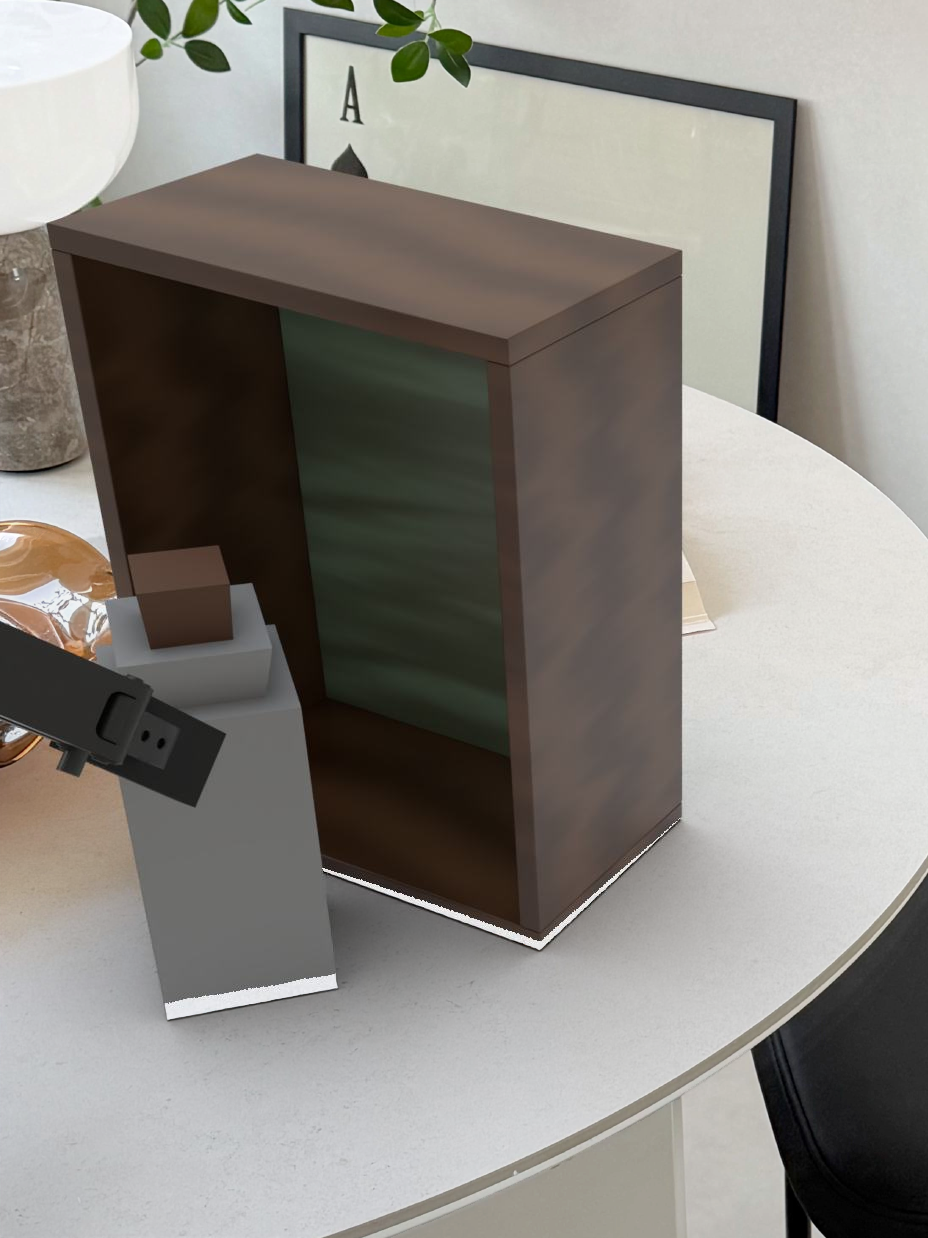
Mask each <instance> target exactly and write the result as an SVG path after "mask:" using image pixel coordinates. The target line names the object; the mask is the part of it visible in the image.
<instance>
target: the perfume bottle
mask: <svg viewBox="0 0 928 1238" xmlns="http://www.w3.org/2000/svg"><path fill="white" fill-rule="evenodd" d="M128 560H129V565H130V570H131V574H132V579H133V584H134V589H135V593H136V596H135V597H126V598H117V597H116V598H110V599H104V604H105V610H106V615H107V621H108V626H109V631H110V637H111V644H110V643H109V644H102V645H101V644H100V645H95V646H94V650H95V656H96V662H97V663H96V664H98V665H101V666H103V667H105V668H107V669H110V670H112V671H114V672H116V673H119V674H121V675H125V676H127V674H130V675H133V676H135V677H138V678H140V679H142V680H144V682H143V683H145V684H148V685H150V686H151V689H153V690H154V691H153V694H152V697H154V698H156V699H158V700H160V701H162V702H164V703H166V704H168V705H170V706H172V707H174V708H176V709H178V710H180V711H182V712H184V713H186V714H188V715H190V716H192V717H194V718H196V719H198V720H200V721H202V722H204V723H206V724H208V725H210V726H212V727H214V728H216V729H218V730H220V731H222V732H224V733H226V736H225V739H224V741H223V744H222V746H221V748H220V751H219V753H218V755H217V758H216V760H215V763H214V765H213V767H212V770H211V772H210V774H209V777H208V779H207V781H206V784H205V786H204V789H203V791H202V793H201V796H200V798H199V800H198V803H197V805H196V808H194V807H192V806H189V805H186V804H183V803H181V802H178V801H175V800H173V799H171V798H168V797H166V796H164V795H162V794H159V793H157V792H155V791H152V790H150V789H148V788H145V787H143V786H141V785H138V784H136V783H134V782H131V781H129V780H127V779H124V778H122V777H120V776H117V777H118V783H119V789H120V793H121V798H122V802H123V803H122V804H123V808H124V813H125V817H126V824H127V827H128V832H129V837H130V842H131V848H132V852H133V857H134V863H135V867H136V872H137V878H138V883H139V887H140V892H141V896H142V897H141V898H142V902H143V906H144V912H145V916H146V923H147V927H148V932H149V937H150V941H151V947H152V952H153V956H154V961H155V966H156V972H157V976H158V982H159V986H160V992H161V996H162V1001H163V1005H164V1004H165V1003H168V1004H169V1002H170V1003H172V1002H175V1001H179V1000H183V999H187V998H194V997H195V998H198V997H202V996H205V995H206V996H209V995H217V994H218V995H219V994H224V993H229V992H233V991H234V992H236V991H240V990H244V989H246V990H248V988H251V989H252V988H256V987H257V988H260V987H263V986H264V987H268V986H271V985H273V986H275V985H279V984H284V983H288V982H292V981H296V980H300V979H304V978H306V979H309V978H313V977H316V978H317V977H321V976H328V975H332V974H335V973H336V974H337V968H336V960H335V959H336V958H335V953H334V952H335V951H334V944H333V937H332V930H331V929H332V928H331V922H330V916H329V908H328V907H329V906H328V900H327V899H328V898H327V893H326V885H325V884H326V883H325V877H324V872H323V869H322V861H321V853H320V846H319V838H318V831H317V823H316V816H315V808H314V801H313V793H312V786H311V778H310V771H309V763H308V756H307V748H306V740H305V733H304V725H303V718H302V710H301V705H300V702H299V699H298V696H297V693H296V690H295V687H294V684H293V680H292V677H291V674H290V671H289V668H288V665H287V662H286V658H285V655H284V652H283V649H282V646H281V643H280V640H279V636H278V633H277V630H276V627H275V624H274V625H265V623H264V620H263V616H262V613H261V610H260V607H259V603H258V600H257V597H256V594H255V591H254V587H253V584H252V583H248V584H240V585H231V586H230V583H229V579H228V576H227V572H226V569H225V565H224V562H223V559H222V555H221V552H220V548H219V545H216V546H207V547H198V548H188V549H179V550H170V551H160V552H151V553H142V554H132V555H128Z"/></svg>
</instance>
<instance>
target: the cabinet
mask: <svg viewBox="0 0 928 1238" xmlns="http://www.w3.org/2000/svg"><path fill="white" fill-rule="evenodd" d="M45 225H46V229H47V230H46V231H47V236H48V241H49V246H50V249H51V250H50V252H51V257H52V261H53V268H54V273H55V277H56V283H57V289H58V294H59V301H60V304H61V305H60V306H61V309H62V315H63V320H64V321H63V322H64V326H65V330H66V337H67V341H68V346H69V347H68V348H69V351H70V358H71V363H72V367H73V373H74V379H75V383H76V389H77V394H78V400H79V405H80V411H81V415H82V420H83V421H82V422H83V427H84V431H85V436H86V442H87V448H88V453H89V456H90V462H91V468H92V473H93V479H94V484H95V488H96V494H97V499H98V505H99V511H100V515H101V522H102V525H103V532H104V536H105V542H106V546H107V547H106V548H107V553H108V557H109V562H110V569H111V573H112V579H113V584H114V590H115V596H116V599H117V598H126V597H135V596H136V593H135V589H134V584H133V579H132V574H131V570H130V565H129V560H128V555H132V554H142V553H151V552H160V551H170V550H179V549H188V548H198V547H207V546H216V545H219V548H220V552H221V555H222V559H223V562H224V565H225V569H226V572H227V576H228V579H229V583H230V586H231V585H240V584H248V583H252V584H253V587H254V591H255V594H256V597H257V600H258V603H259V607H260V610H261V613H262V616H263V620H264V623H265V625H274V624H275V627H276V630H277V633H278V636H279V640H280V643H281V646H282V649H283V652H284V655H285V658H286V662H287V665H288V668H289V671H290V674H291V677H292V680H293V684H294V687H295V690H296V693H297V696H298V699H299V702H300V705H301V710H302V718H303V725H304V733H305V740H306V748H307V756H308V763H309V771H310V778H311V786H312V793H313V801H314V808H315V816H316V823H317V831H318V838H319V846H320V853H321V861H322V868H325V869H328V870H331V871H334V872H337V873H341V874H344V875H347V876H350V877H353V878H356V879H360V880H361V879H362V880H363V881H366V882H369V883H372V884H376V885H379V886H380V887H383V888H386V889H390V890H393V891H394V892H395V891H396V892H397V893H402V894H404V895H407V896H410V897H412V896H413V897H414V898H415V899H420V900H421V901H422V900H424V901H425V902H426V901H427V902H428V903H431V904H435V905H438V906H439V907H441V906H442V907H443V908H446V909H449V910H450V911H451V910H453V911H454V912H458V913H461V914H464V915H465V916H466V915H468V916H469V917H470V918H474V919H477V920H480V921H482V922H483V921H484V922H485V923H488V924H492V925H493V926H494V925H495V926H496V927H500V928H503V929H504V930H506V929H507V930H508V931H512V932H515V933H516V934H517V933H519V934H520V935H524V936H526V937H528V938H530V937H531V938H532V939H533V940H537V941H542V940H543V939H544V937H546V936H547V935H549V933H550V932H551V931H553V929H555V927H557V926H559V924H560V923H561V922H563V921H564V920H565V919H566V918H567V917H568V916H569V915H570V914H572V912H574V910H575V911H576V909H578V908H579V907H580V906H581V905H582V904H583V903H585V901H587V899H589V898H590V897H591V896H592V895H593V894H594V893H596V892H597V891H598V890H599V888H601V887H603V885H604V884H606V882H608V880H610V879H611V878H613V876H615V874H617V873H618V872H620V870H621V869H623V868H624V867H625V866H626V865H628V863H630V862H631V860H633V859H634V858H636V856H638V855H639V854H641V852H642V851H644V849H646V848H647V846H649V845H650V844H652V843H653V842H654V841H655V840H656V839H657V838H658V837H660V836H661V834H663V833H664V831H666V830H667V829H669V827H670V826H672V824H673V823H675V822H676V821H678V819H679V818H681V817H682V818H683V250H682V249H680V248H674V247H671V246H666V245H661V244H657V243H654V242H653V243H652V242H648V241H644V240H639V239H635V238H631V237H626V236H621V235H618V234H613V233H608V232H605V231H600V230H596V229H591V228H587V227H583V226H578V225H574V224H569V223H564V222H562V221H561V222H560V221H556V220H551V219H547V218H543V217H539V216H534V215H530V214H525V213H520V212H516V211H512V210H507V209H504V208H499V207H495V206H492V205H491V206H490V205H485V204H482V203H478V202H473V201H468V200H465V199H459V198H456V197H452V196H451V197H450V196H447V195H441V194H439V193H438V194H437V193H433V192H429V191H424V190H420V189H415V188H411V187H408V186H406V187H405V186H402V185H399V184H393V183H389V182H385V181H380V180H376V179H371V178H369V177H364V176H358V175H353V174H350V173H345V172H341V171H336V170H332V169H328V168H323V167H319V166H314V165H310V164H306V163H301V162H297V161H292V160H288V159H283V158H279V157H276V156H275V157H274V156H270V155H266V154H262V153H254V154H250V155H247V156H245V157H242V158H239V159H235V160H233V161H230V162H227V163H224V164H220V165H217V166H214V167H212V168H208V169H206V170H201V171H200V172H199V171H198V172H196V173H193V174H191V175H187V176H184V177H182V178H178V179H175V180H172V181H169V182H166V183H164V184H160V185H157V186H154V187H151V188H148V189H145V190H142V191H139V192H136V193H133V194H130V195H127V196H124V197H120V198H118V199H115V200H111V201H108V202H105V203H102V204H100V205H95V206H93V207H90V208H88V209H85V210H81V211H78V212H75V213H72V214H70V215H69V214H68V215H66V216H63V217H60V218H57V219H54V220H52V221H48V222H46V223H45Z"/></svg>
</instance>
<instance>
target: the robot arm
mask: <svg viewBox="0 0 928 1238" xmlns="http://www.w3.org/2000/svg"><path fill="white" fill-rule="evenodd" d="M143 682H144V680H142V679H140V678H138V677H135V676H133V675H130V674H127V676H125V675H121V674H119V673H116V672H114V671H112V670H110V669H107V668H105V667H103V666H101V665H98V663H96V662H94V661H92V660H90V659H87V658H85V657H83V656H80V655H79V654H75V653H74V652H71V651H69V650H67V649H65V648H62V647H60V646H58V645H55V644H53V643H51V642H49V641H47V640H44V639H42V638H40V637H37V636H35V635H34V634H31V633H28V632H26V631H24V630H23V629H22V630H21V629H19V628H17V627H14V626H13V625H11V624H9V623H6V622H3V621H2V620H0V721H1V722H4V723H6V724H8V725H11V726H13V727H16V728H18V729H21V730H24V731H26V732H28V733H30V734H33V735H36V736H39V737H41V738H44V739H45V740H49V741H50V742H49V744H48V747H50V748H53V750H57V751H59V752H62V754H61V757H60V759H59V761H58V763H57V765H56V769H55V770H57V771H60V772H62V773H65V774H68V775H70V776H73V777H76V778H80V777H81V775H82V772H83V770H84V768H85V765H86V763H87V764H89V765H92V766H94V767H96V768H98V769H100V770H103V771H106V772H108V773H111V774H112V775H114V776H117V777H118V776H120V777H122V778H124V779H127V780H129V781H131V782H134V783H136V784H138V785H141V786H143V787H145V788H148V789H150V790H152V791H155V792H157V793H159V794H162V795H164V796H166V797H168V798H171V799H173V800H175V801H178V802H181V803H183V804H186V805H189V806H192V807H194V808H196V805H197V803H198V800H199V798H200V796H201V793H202V791H203V789H204V786H205V784H206V781H207V779H208V777H209V774H210V772H211V770H212V767H213V765H214V763H215V760H216V758H217V755H218V753H219V751H220V748H221V746H222V744H223V741H224V739H225V736H226V733H224V732H222V731H220V730H218V729H216V728H214V727H212V726H210V725H208V724H206V723H204V722H202V721H200V720H198V719H196V718H194V717H192V716H190V715H188V714H186V713H184V712H182V711H180V710H178V709H176V708H174V707H172V706H170V705H168V704H166V703H164V702H162V701H160V700H158V699H156V698H154V697H152V694H153V691H154V690H153V689H151V686H150V685H148V684H145V683H143Z"/></svg>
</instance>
